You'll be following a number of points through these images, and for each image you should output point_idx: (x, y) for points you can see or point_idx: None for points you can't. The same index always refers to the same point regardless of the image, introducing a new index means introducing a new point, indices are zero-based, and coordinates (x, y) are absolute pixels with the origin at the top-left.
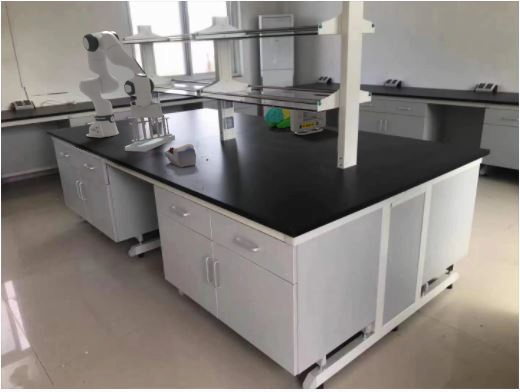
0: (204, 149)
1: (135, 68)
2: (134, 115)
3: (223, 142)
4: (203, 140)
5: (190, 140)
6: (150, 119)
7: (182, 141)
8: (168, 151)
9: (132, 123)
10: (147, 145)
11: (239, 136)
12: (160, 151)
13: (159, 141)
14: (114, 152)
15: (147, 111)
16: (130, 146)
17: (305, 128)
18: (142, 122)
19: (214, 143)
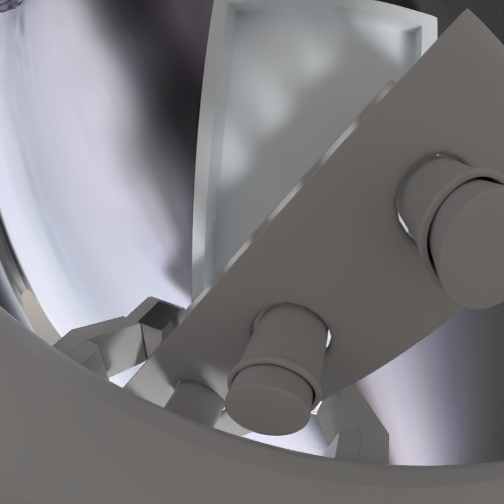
0: (5, 135)
1: None
2: (498, 497)
3: (8, 244)
4: (62, 290)
5: (105, 304)
6: (168, 401)
7: (127, 291)
8: None
9: (492, 91)
10: (302, 168)
11: (23, 318)
12: (130, 38)
13: (194, 205)
14: (479, 5)
15: (20, 483)
16: (383, 13)
17: None
18: (252, 242)
19: (16, 231)
